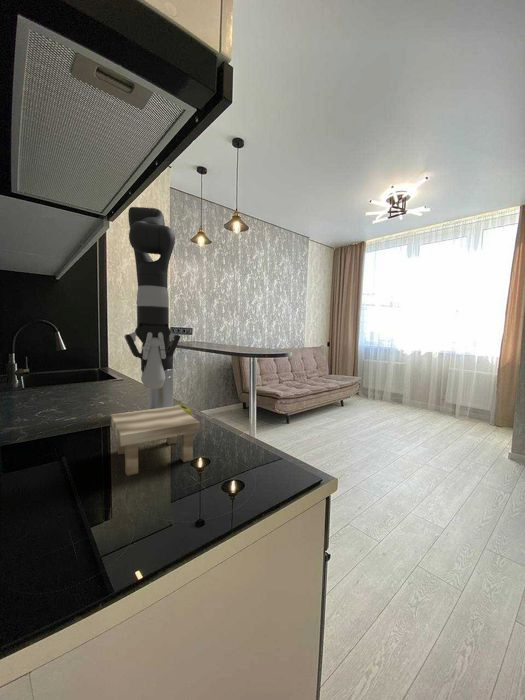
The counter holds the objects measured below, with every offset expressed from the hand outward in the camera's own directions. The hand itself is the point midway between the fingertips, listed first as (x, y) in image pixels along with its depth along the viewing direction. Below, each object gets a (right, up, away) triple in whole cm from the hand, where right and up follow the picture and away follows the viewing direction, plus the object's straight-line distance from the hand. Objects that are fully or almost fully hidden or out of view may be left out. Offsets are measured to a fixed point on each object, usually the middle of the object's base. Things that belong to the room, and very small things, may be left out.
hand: (153, 373), depth 75 cm
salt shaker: (0, -4, 0) cm, 4 cm away
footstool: (0, -22, +1) cm, 22 cm away
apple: (+1, -21, +21) cm, 30 cm away
